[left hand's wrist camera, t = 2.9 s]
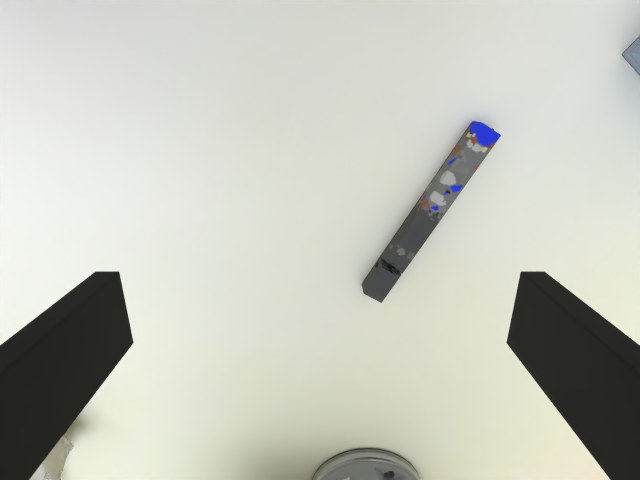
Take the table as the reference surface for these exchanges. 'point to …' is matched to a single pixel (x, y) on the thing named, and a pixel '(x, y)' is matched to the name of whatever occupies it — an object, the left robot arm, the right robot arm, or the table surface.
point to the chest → (634, 55)
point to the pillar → (430, 209)
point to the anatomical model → (54, 461)
